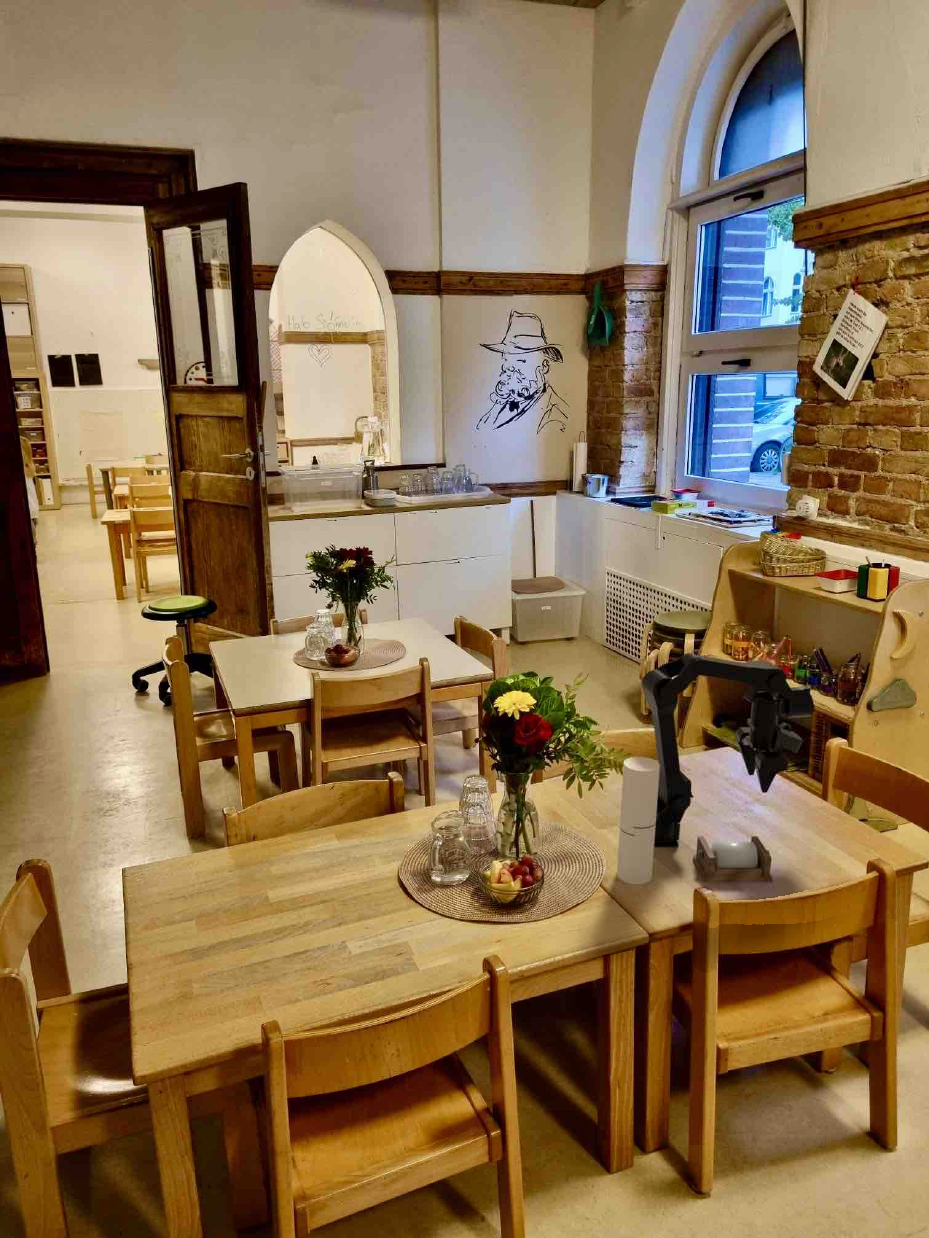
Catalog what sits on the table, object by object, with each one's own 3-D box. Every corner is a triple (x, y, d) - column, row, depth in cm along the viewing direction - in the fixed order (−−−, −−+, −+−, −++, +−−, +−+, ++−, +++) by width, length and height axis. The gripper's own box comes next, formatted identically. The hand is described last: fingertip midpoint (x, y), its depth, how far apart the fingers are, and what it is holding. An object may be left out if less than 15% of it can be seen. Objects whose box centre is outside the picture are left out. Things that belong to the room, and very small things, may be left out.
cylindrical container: (651, 886, 187) (659, 772, 180) (616, 881, 188) (623, 769, 182) (651, 868, 193) (659, 758, 187) (617, 864, 195) (624, 755, 188)
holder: (702, 881, 189) (704, 857, 187) (691, 859, 197) (693, 836, 196) (773, 881, 189) (776, 857, 187) (759, 859, 198) (761, 836, 196)
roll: (715, 874, 190) (719, 854, 188) (708, 856, 195) (712, 836, 193) (756, 874, 190) (760, 854, 188) (748, 856, 195) (752, 836, 193)
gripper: (816, 734, 194) (808, 802, 198) (785, 704, 212) (778, 766, 216) (764, 734, 194) (757, 801, 197) (737, 703, 212) (731, 766, 216)
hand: (757, 783), depth 207 cm, fingers open, 9 cm apart
